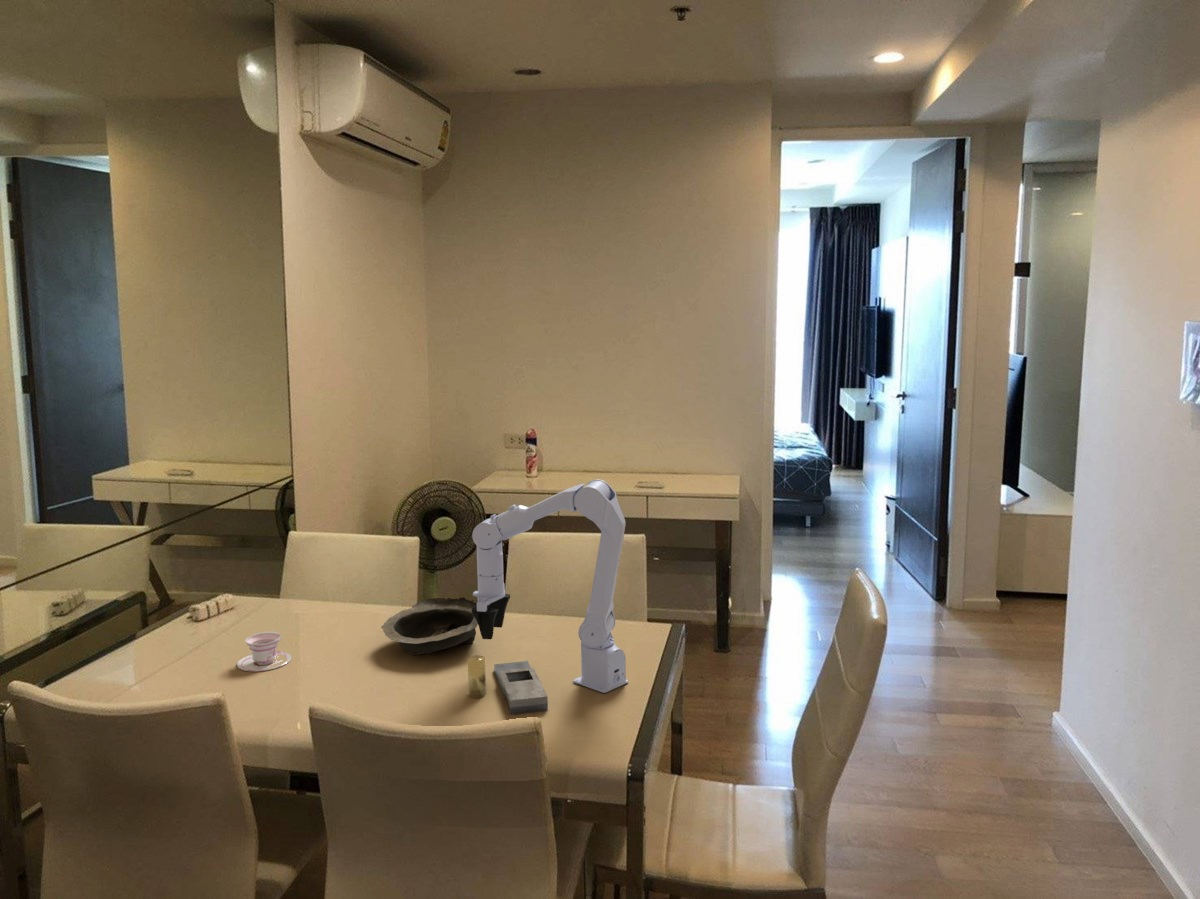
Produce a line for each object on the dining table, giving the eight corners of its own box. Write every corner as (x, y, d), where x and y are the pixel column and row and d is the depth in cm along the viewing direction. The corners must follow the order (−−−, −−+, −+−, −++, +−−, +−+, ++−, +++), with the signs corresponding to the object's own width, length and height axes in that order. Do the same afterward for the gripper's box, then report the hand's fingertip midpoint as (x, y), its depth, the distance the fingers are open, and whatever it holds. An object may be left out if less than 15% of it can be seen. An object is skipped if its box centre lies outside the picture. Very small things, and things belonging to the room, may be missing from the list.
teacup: (273, 674, 209) (271, 648, 208) (226, 671, 212) (224, 645, 211) (301, 655, 221) (299, 630, 220) (255, 652, 223) (253, 627, 223)
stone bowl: (495, 628, 237) (494, 594, 234) (472, 673, 212) (471, 636, 210) (401, 625, 239) (399, 591, 237) (368, 669, 215) (365, 632, 213)
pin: (489, 694, 196) (488, 658, 195) (476, 699, 194) (475, 663, 193) (478, 689, 199) (477, 654, 198) (465, 694, 196) (464, 658, 195)
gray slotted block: (494, 670, 209) (494, 658, 209) (527, 667, 211) (527, 654, 210) (510, 714, 186) (510, 700, 186) (547, 710, 188) (547, 696, 187)
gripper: (483, 563, 211) (485, 621, 213) (462, 582, 197) (464, 643, 199) (512, 565, 210) (514, 622, 212) (494, 583, 196) (496, 644, 198)
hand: (492, 632), depth 206 cm, fingers open, 7 cm apart
